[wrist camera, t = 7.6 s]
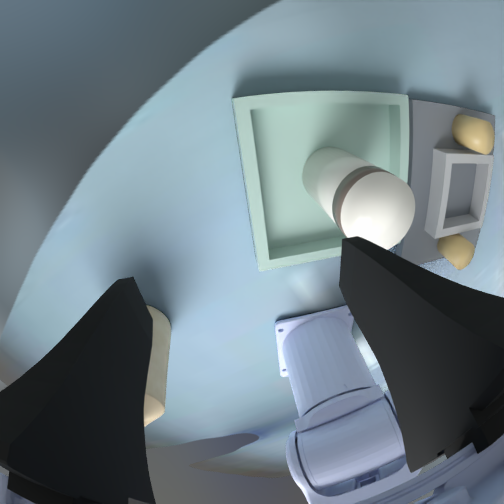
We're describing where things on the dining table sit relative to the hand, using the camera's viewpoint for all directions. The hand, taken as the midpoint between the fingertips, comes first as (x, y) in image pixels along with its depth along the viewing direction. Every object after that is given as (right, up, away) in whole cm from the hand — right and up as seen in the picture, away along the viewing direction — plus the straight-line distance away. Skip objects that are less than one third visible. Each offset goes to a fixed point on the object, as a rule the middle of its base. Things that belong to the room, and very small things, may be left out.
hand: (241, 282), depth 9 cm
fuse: (+6, +6, +9) cm, 12 cm away
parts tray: (+6, +7, +9) cm, 13 cm away
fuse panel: (+19, +7, +11) cm, 23 cm away
